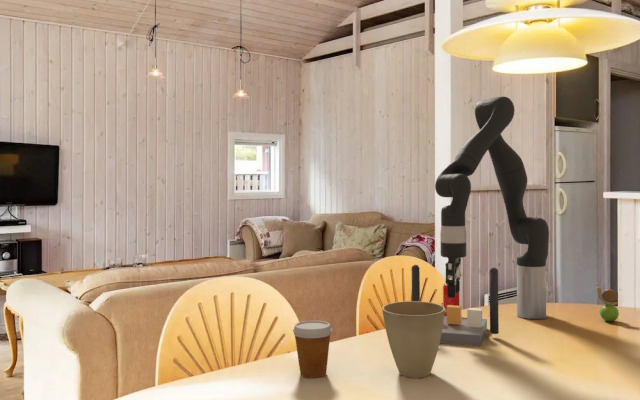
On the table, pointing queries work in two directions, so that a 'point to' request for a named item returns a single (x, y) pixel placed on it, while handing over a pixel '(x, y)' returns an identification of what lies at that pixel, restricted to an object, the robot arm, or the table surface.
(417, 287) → the dark grey rod
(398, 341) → the plant pot
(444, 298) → the beverage can
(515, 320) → the table surface
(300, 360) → the disposable coffee cup
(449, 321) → the block
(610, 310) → the snail figurine
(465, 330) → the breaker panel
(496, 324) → the dark grey post
